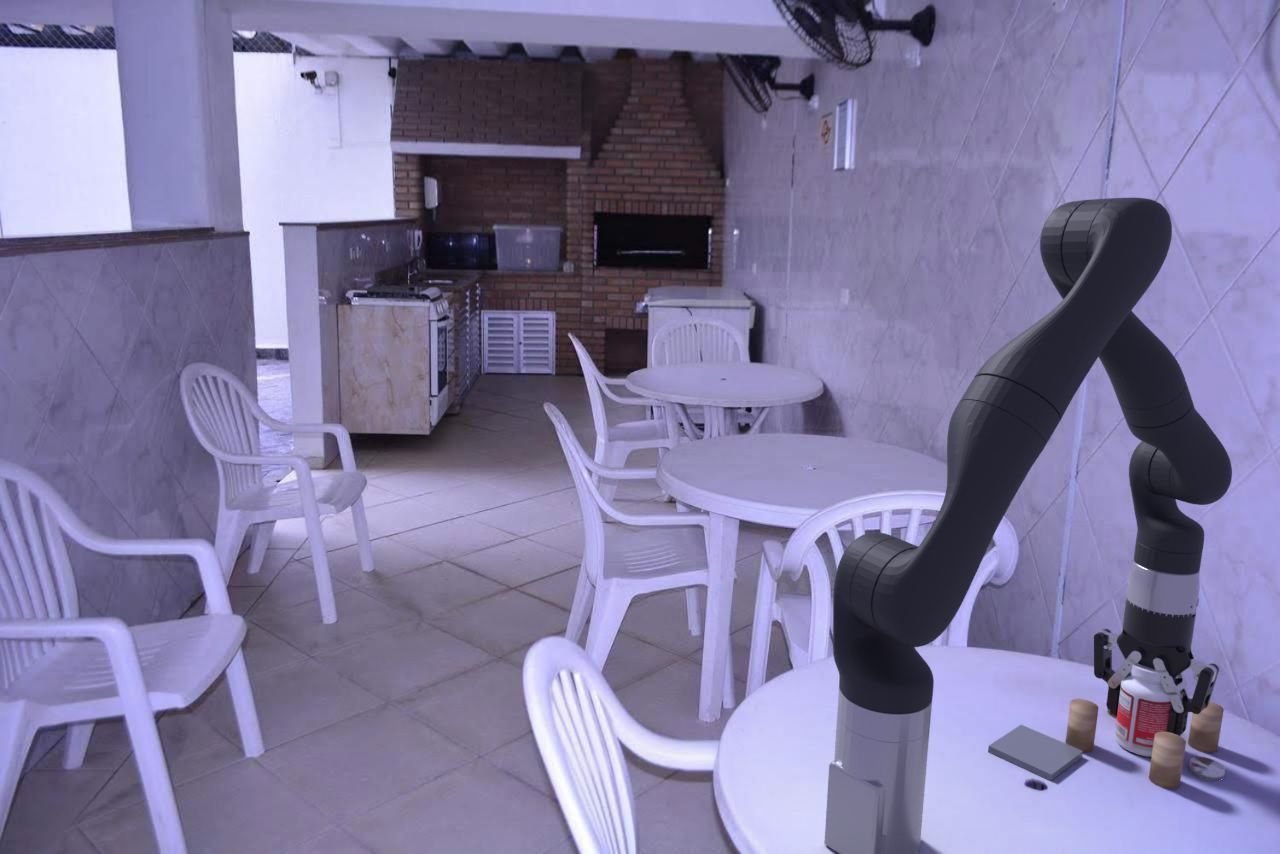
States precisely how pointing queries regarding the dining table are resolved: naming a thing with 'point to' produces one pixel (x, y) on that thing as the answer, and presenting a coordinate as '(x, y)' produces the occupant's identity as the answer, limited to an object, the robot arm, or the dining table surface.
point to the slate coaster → (1035, 752)
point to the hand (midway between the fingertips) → (1144, 724)
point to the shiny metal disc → (1207, 768)
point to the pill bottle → (1141, 710)
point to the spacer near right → (1082, 724)
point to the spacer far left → (1206, 728)
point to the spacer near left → (1167, 760)
